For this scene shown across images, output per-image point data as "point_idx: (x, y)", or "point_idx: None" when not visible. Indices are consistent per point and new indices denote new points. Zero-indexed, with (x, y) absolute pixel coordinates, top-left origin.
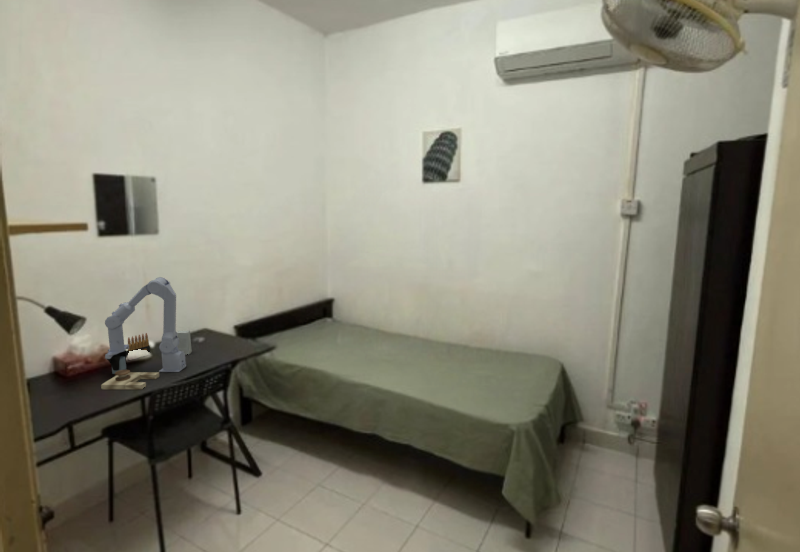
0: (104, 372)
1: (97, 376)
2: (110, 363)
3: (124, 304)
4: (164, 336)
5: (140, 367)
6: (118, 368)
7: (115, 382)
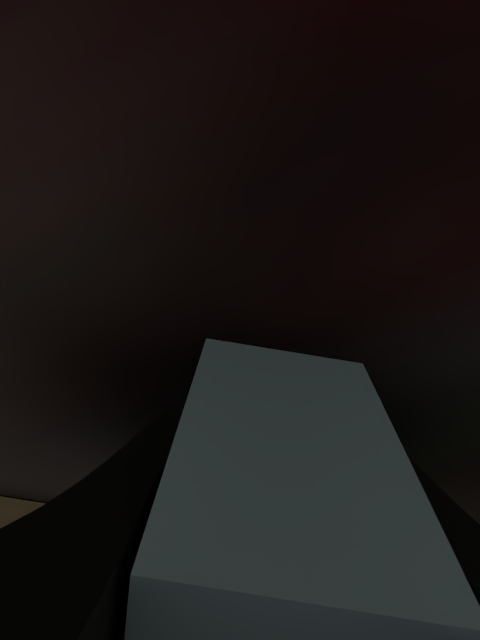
0: (311, 152)
1: (96, 112)
2: (60, 498)
3: None
4: None
5: None
6: None
7: None
